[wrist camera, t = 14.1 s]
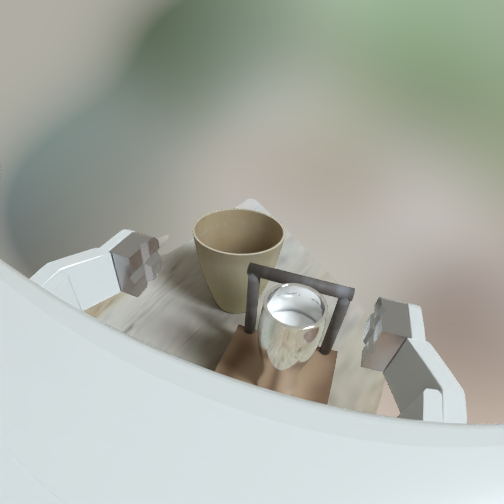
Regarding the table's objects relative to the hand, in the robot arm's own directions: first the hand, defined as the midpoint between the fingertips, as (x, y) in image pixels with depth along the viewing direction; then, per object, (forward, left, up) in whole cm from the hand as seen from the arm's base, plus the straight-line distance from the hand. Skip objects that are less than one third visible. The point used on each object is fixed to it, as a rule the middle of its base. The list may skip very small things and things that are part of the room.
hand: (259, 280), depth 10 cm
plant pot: (-12, +31, -34) cm, 47 cm away
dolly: (0, +15, -33) cm, 36 cm away
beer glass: (+1, +14, -29) cm, 32 cm away
